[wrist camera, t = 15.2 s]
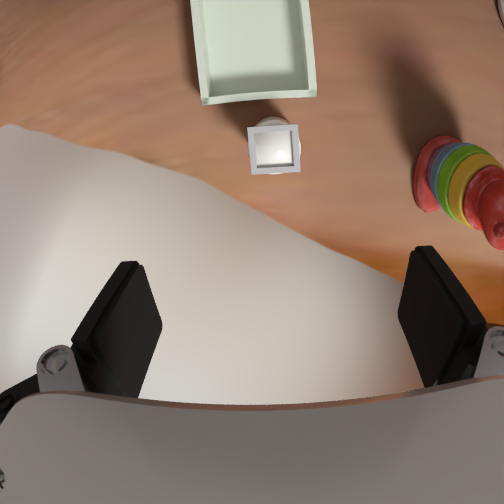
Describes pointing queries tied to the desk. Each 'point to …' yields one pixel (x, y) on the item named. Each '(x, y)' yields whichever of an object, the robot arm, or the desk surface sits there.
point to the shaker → (274, 146)
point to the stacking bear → (462, 185)
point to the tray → (253, 49)
